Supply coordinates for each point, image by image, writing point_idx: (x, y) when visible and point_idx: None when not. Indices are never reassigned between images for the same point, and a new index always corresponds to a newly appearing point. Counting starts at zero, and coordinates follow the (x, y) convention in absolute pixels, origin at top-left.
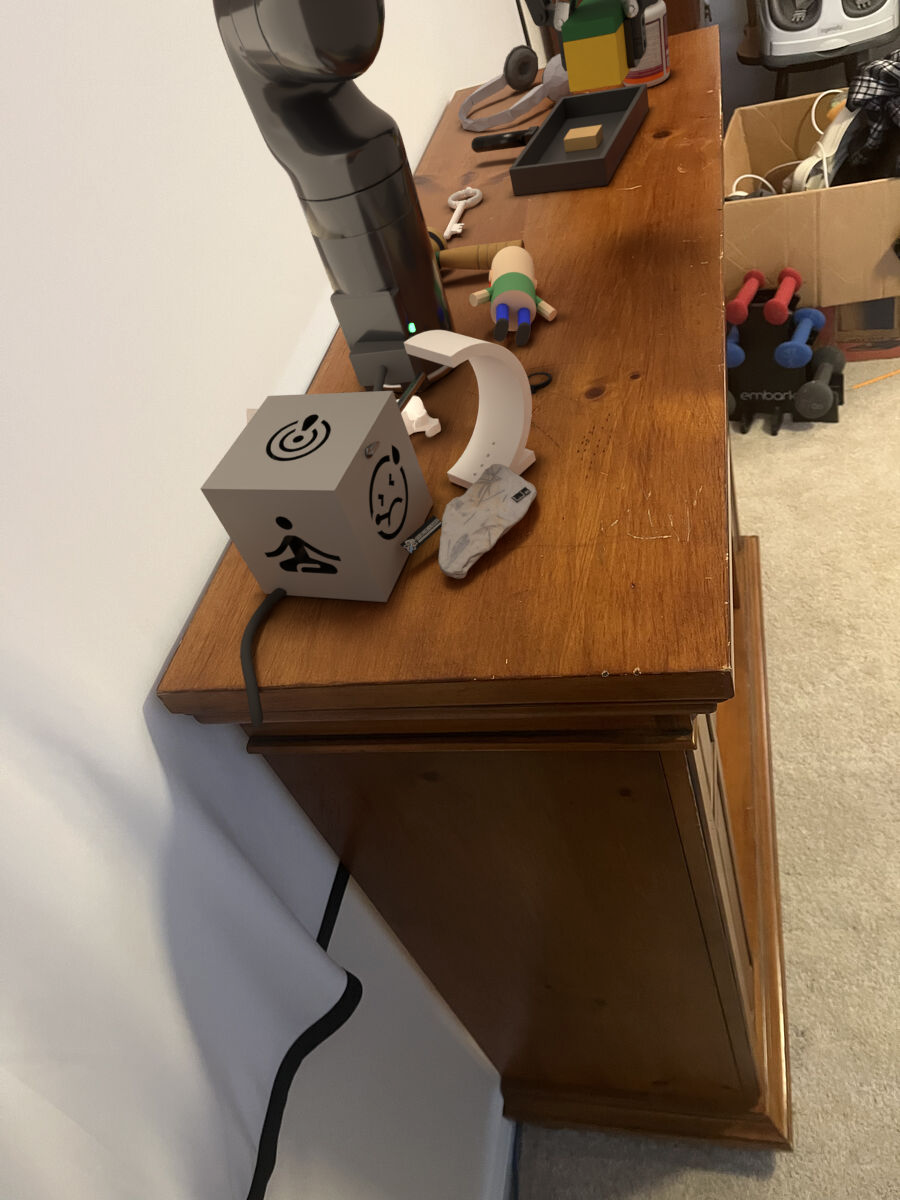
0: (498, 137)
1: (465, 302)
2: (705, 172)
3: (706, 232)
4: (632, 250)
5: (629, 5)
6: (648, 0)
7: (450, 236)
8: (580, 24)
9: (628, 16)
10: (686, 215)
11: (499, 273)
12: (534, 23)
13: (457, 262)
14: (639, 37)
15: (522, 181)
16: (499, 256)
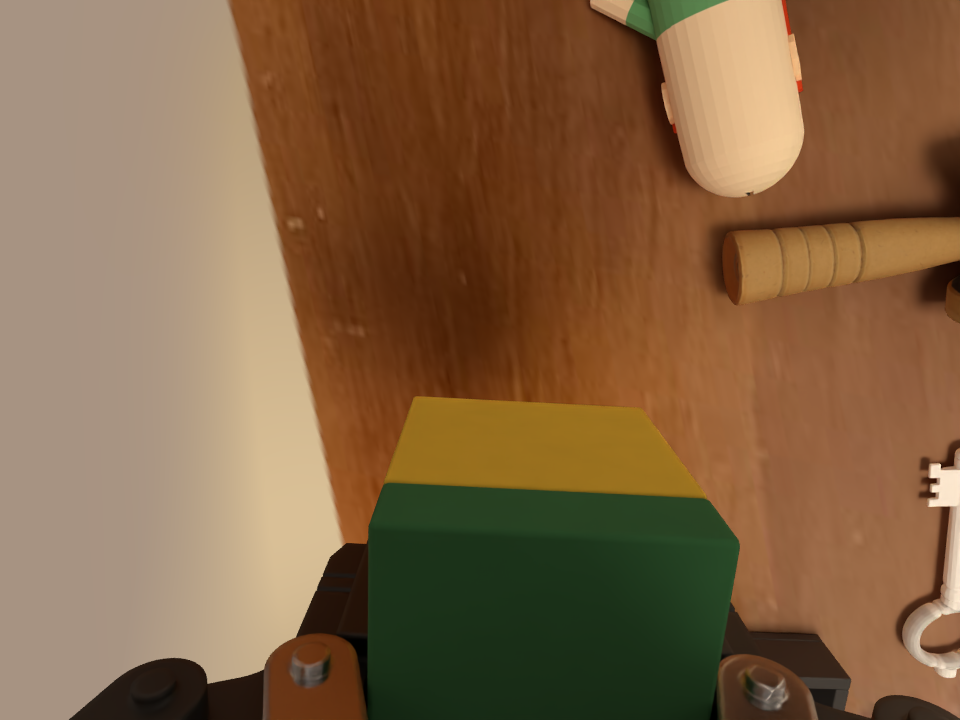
0: None
1: (850, 123)
2: None
3: (319, 361)
4: (470, 311)
5: (313, 677)
6: (191, 678)
7: (955, 454)
8: (600, 529)
9: (339, 639)
10: (379, 447)
11: (766, 9)
12: (952, 716)
13: (911, 218)
14: (327, 594)
15: (804, 654)
16: (784, 104)
